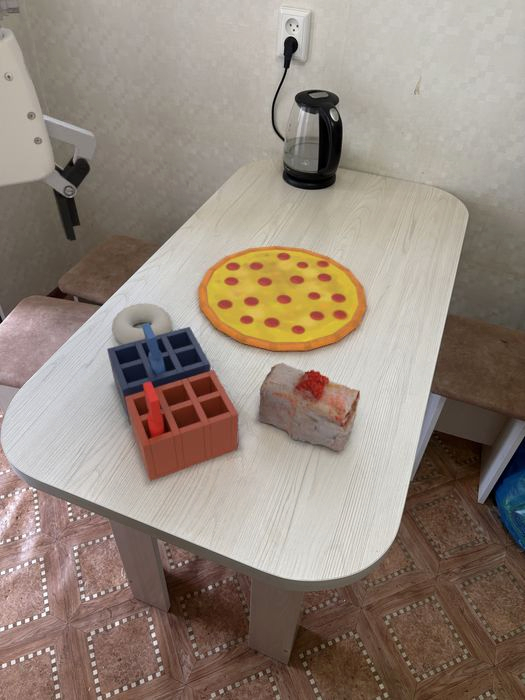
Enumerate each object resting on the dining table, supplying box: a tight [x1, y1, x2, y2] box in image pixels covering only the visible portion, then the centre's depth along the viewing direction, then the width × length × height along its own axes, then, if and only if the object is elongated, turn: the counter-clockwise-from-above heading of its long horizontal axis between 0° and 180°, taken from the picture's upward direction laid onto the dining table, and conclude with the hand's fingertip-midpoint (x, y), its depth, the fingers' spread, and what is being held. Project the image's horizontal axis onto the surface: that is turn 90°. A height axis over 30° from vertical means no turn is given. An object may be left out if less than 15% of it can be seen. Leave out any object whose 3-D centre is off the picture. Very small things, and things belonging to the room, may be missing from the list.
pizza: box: [197, 245, 368, 352], centre depth 96 cm, size 32×32×1 cm
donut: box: [111, 303, 173, 345], centre depth 86 cm, size 10×4×10 cm
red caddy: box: [125, 369, 239, 482], centre depth 69 cm, size 13×9×8 cm
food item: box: [258, 362, 361, 453], centre depth 71 cm, size 14×8×10 cm, turn 66°
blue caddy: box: [107, 326, 211, 427], centre depth 75 cm, size 13×9×8 cm
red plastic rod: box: [143, 381, 165, 438], centre depth 64 cm, size 2×3×14 cm, turn 26°
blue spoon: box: [141, 322, 166, 375], centre depth 71 cm, size 2×3×14 cm, turn 25°
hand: (12, 243), depth 44 cm, fingers open, 9 cm apart
